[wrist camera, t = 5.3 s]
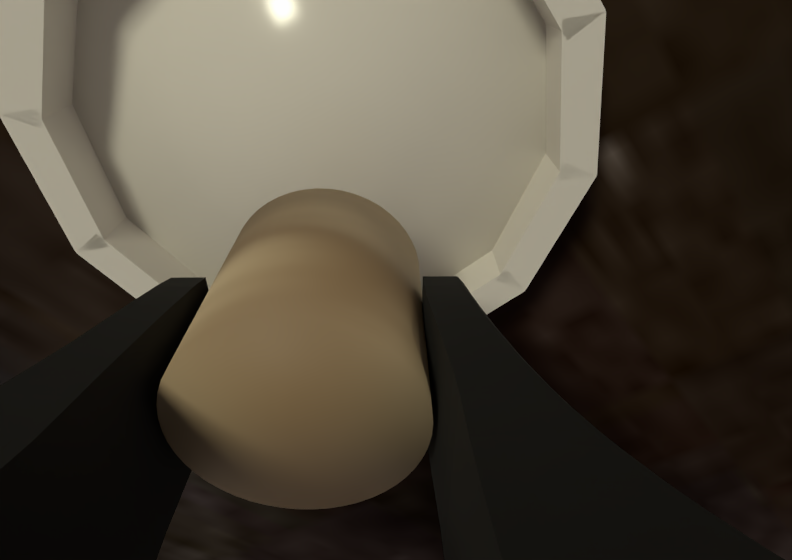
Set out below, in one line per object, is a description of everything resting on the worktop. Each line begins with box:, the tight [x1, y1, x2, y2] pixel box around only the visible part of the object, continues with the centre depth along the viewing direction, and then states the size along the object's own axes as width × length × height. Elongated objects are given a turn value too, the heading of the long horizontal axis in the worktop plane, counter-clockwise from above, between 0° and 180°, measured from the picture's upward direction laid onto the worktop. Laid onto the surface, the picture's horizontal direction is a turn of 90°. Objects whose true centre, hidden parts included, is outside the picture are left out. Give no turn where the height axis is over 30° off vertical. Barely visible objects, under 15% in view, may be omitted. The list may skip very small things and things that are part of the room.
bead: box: [156, 188, 433, 509], centre depth 9 cm, size 4×4×4 cm
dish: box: [0, 0, 606, 315], centre depth 12 cm, size 12×12×2 cm
